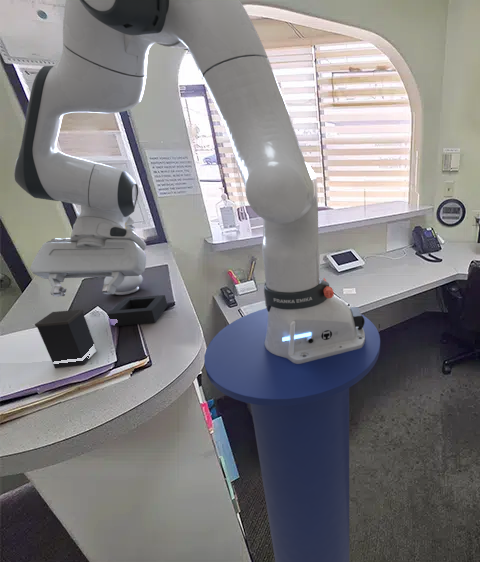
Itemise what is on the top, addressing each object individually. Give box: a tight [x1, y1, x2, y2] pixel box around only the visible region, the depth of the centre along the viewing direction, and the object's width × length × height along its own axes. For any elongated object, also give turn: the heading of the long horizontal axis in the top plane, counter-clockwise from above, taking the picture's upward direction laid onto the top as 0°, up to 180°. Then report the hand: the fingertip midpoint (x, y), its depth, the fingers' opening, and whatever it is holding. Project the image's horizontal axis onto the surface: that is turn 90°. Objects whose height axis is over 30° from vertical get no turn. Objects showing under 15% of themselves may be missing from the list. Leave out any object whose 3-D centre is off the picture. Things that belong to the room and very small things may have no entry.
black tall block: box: [34, 309, 95, 369], centre depth 61 cm, size 5×5×10 cm
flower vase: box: [72, 211, 144, 296], centre depth 90 cm, size 13×18×25 cm
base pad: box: [106, 294, 168, 327], centre depth 80 cm, size 9×9×4 cm
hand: (82, 294), depth 66 cm, fingers open, 8 cm apart
